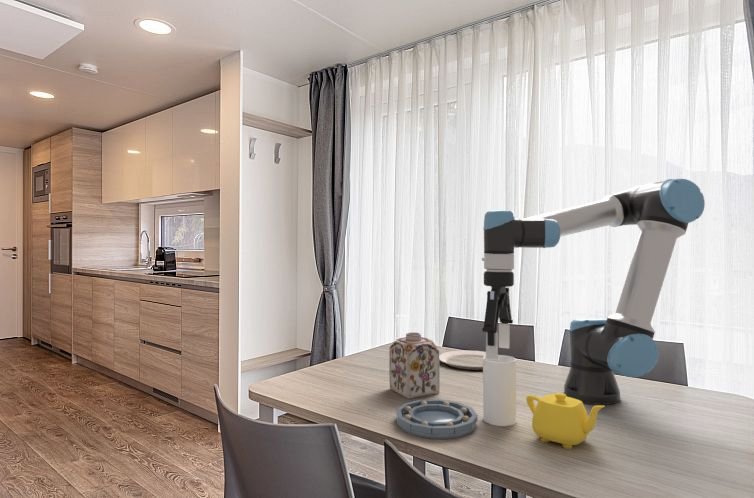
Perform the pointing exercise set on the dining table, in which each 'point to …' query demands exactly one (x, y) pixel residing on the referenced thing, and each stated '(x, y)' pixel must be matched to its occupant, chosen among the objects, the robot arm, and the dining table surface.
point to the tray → (436, 419)
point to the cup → (499, 390)
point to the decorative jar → (414, 366)
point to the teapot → (561, 419)
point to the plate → (452, 354)
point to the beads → (464, 410)
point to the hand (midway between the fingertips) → (498, 353)
